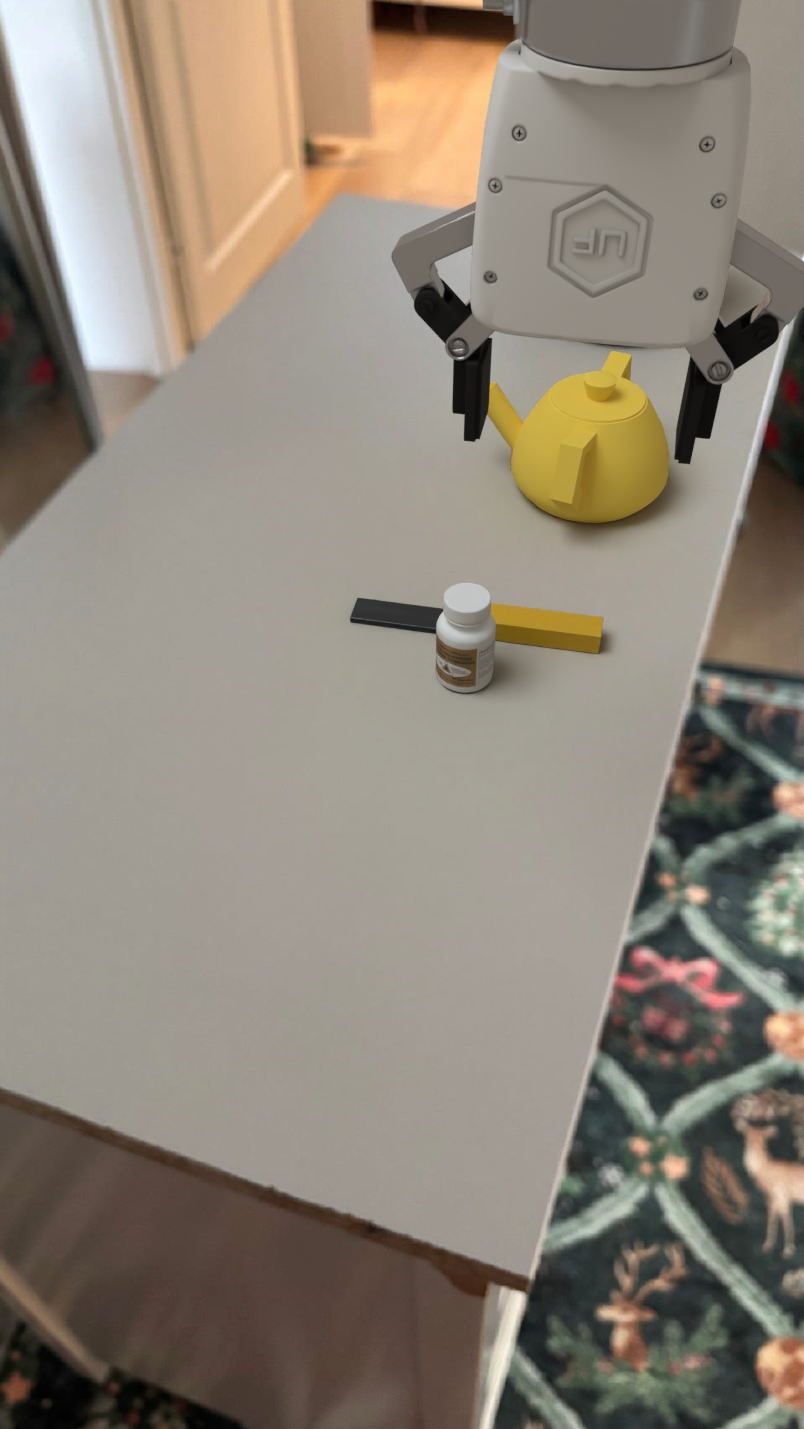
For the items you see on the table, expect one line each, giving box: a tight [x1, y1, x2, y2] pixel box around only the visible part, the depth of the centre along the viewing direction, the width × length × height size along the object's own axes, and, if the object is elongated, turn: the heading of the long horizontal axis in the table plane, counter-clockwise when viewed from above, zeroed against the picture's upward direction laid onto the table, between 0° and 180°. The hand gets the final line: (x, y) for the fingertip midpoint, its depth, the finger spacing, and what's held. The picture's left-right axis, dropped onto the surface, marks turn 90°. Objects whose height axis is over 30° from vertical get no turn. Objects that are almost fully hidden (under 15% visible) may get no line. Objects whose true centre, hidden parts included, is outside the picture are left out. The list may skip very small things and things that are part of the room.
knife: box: [349, 597, 604, 655], centre depth 86 cm, size 20×3×2 cm, turn 78°
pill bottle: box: [435, 582, 496, 693], centre depth 80 cm, size 4×4×8 cm
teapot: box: [487, 350, 670, 524], centre depth 97 cm, size 20×18×11 cm
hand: (578, 437), depth 50 cm, fingers open, 9 cm apart
